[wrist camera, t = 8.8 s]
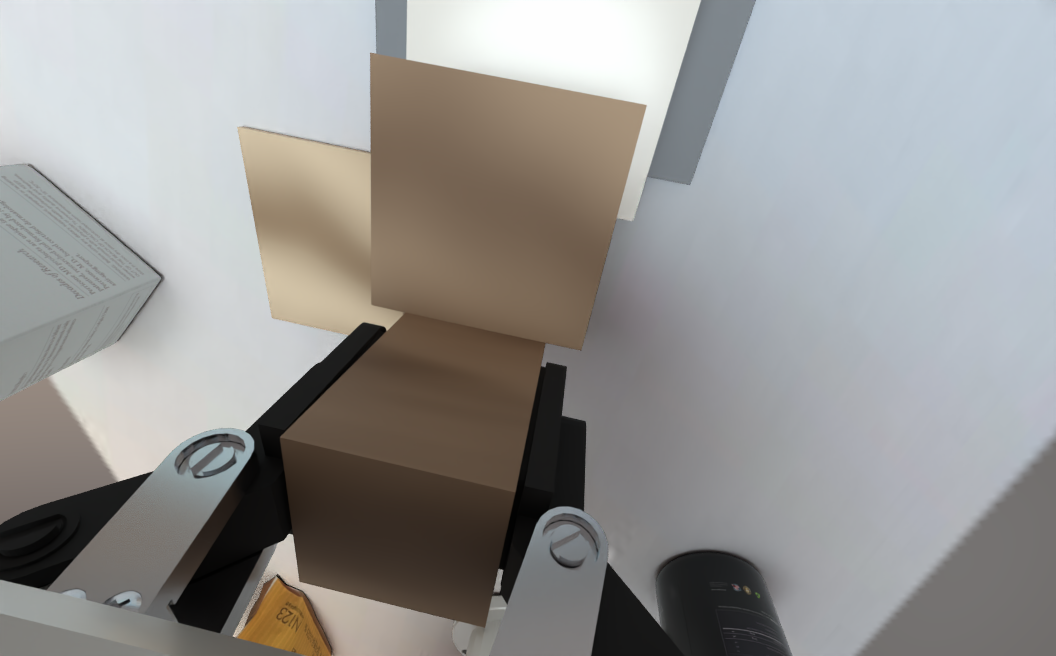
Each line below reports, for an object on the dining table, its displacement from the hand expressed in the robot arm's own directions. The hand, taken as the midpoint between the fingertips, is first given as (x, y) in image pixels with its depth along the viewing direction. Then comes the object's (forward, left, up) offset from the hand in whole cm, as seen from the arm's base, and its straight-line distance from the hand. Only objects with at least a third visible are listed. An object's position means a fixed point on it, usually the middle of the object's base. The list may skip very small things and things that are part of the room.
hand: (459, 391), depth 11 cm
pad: (-1, +8, -8) cm, 12 cm away
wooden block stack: (+2, 0, -2) cm, 3 cm away
